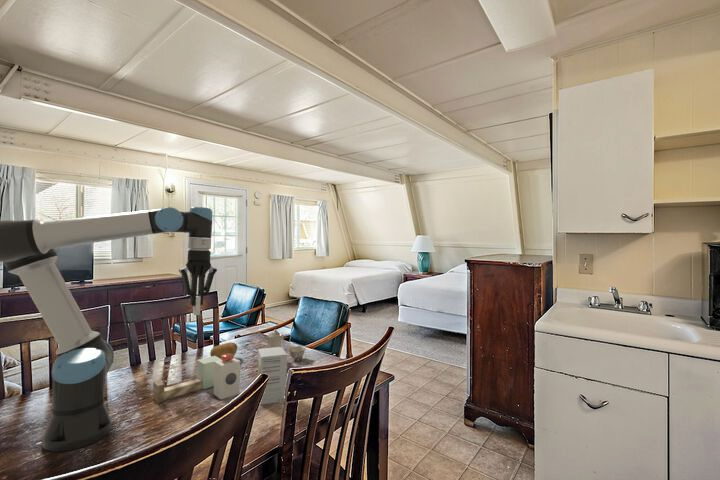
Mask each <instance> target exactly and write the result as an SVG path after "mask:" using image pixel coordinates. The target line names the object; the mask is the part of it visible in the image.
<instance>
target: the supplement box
mask: <svg viewBox="0 0 720 480" xmlns="http://www.w3.org/2000/svg"><path fill="white" fill-rule="evenodd" d="M287 367H288V354H287V352H286V350H285V349H284V347H283V346H282V347H274V348H267V347H265V348H259V349H258V350H257V376H259V375H260V374H262V373H266V374H268V375H269V380H268V383H267V386H266V390H265V393H264V395H263V398H262V401H261V404H260V403H259V405H260V406H263V405H269V404H275V403H276V404H277V403H280V402H285V401H284V391H285V385H286V386H287V371H288V370H287V369H288V368H287Z"/></svg>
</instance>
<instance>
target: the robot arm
mask: <svg viewBox="0 0 720 480" xmlns="http://www.w3.org/2000/svg"><path fill="white" fill-rule="evenodd" d="M212 230H213V210H212V209H211V208H209V207H204V206H202V207H201V206H191V207H190V209H189V211H180V210H179V209H177V208H176V207H171V206H168V207H162V208H157V209H151V210H150V209H149V210H139V211H138V210H137V211H132V212H131V211H130V212H129V211H127V212H121V213H113V214H111V213H110V214H103V215H95V216H93V215H92V216H86V217H77V218H68V219H67V218H66V219H61V220H60V219H58V220H51V221H42V220H40V219H38V218H37V219H36V218H35V219H25V220H10V219H9V220H8V219H6V220H5V219H4V220H0V263H1V262H2V264H3V265H4V267H5V269H6V270H7V272H8V273H10V274H12V275H16V276H18V277H19V279H20V281H21V282H22V284H23V286H24V287H25V289H26V291H27V293H28V295H29V296H30V298H31V299H32V301H33V303H34V305H35V306H36V309H37V310H38V312H39V313H40V314H39V315H41V317H42V319H43V321H44V322H45V324H46V326H47V327H48V329H49V331H50V333H51V334H52V336H53V337H54V340H55V341H56V344H57V345H58V347H57V348H56V351H55V354H56V356H57V357H56V359H55V360H54V362H53V365H52V369H51V416H50V418H49V421H48V423H47V426H46V428H45V431H44V433H43V436H42V448H43V450H45V451H48V452H53V453H57V452H67V451H73V450H76V449H77V450H78V449H80V448H83V447H85V446H88V445H91V444H94V443H95V442H97V441H99V440H101V439H103V438H104V437H105V436H107V435H108V434H109V433H110V431H111V429H112V418H111V416H110V414H109V411H108V408H107V406H106V403H105V389H106V388H105V384H106V377H107V376H108V375H107V374H108V373H109V371H110V369H111V368H112V365H113V363H114V361H115V359H114V358H115V357H114V356H115V352H114V349H113V347H112V346H111V344H110V343H109V342H106V340H104V339H103V337H102V334H101V333H100V332H99V331H96V330H95V331H94V330H93V329H91V326H90V325H89V323H88V322H87V320H86V318H85V316H84V315H83V313H82V311H81V308H80V306H79V305H78V303H77V301H76V300H75V298H74V297H73V293H72V292H71V290H70V288H69V287H68V286H67V283H66V281H65V279H64V277H63V276H62V274H61V272H60V271H59V269H58V267H57V265H56V262H57V259H58V257H59V255H58V254H57V252H56V250H55V249H59V248H66V247H73V246H80V245H88V244H95V243H100V242H102V243H103V242H107V241H109V242H110V241H113V240H114V241H115V240H121V239H128V238H135V237H141V236H148V235H149V236H150V235H155V234H163V233H184V234H185V233H188V244H187V248H188V251H187V262H186V264H185V266H184V267H183V268H179V269H178V272H179V273H180V275H181V279H182V283H183V289H184V293H185V295H186V296H189V297H190V306H192V314H193V316H200V315H201V306H203V304H204V297H205V295H209V294H210V290H211V287H212V284H213V280H214V276H215V274H216V273H217V271H218V269H217V268H214V267H213V266H212V264H211V254H212V253H211V249H212V232H213V231H212ZM188 272H189V273H190V278H191V281H189V280H190V279H189V275H188ZM207 272H208V274H207ZM206 274H207V277H206ZM205 278H206V279H205Z"/></svg>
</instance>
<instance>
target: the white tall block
mask: <svg viewBox="0 0 720 480" xmlns="http://www.w3.org/2000/svg"><path fill="white" fill-rule="evenodd" d="M240 378H241V360H239V359H238V358H235V357H234V358H233V359H232V360H231V362H229V363H224V361H223V360H218V361H214V386H213V395H214V396H215V397H216V398H218V399H219V400H223V399H227V398H230V397H233V396H236V395H238V394H240V390H241V389H240V386H241V384H240V383H241V379H240Z"/></svg>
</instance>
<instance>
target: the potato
mask: <svg viewBox="0 0 720 480" xmlns="http://www.w3.org/2000/svg"><path fill="white" fill-rule="evenodd" d="M237 351H238V345H237V343H236V342H232V341H230V342H229V341H228V342H225V343H222V344H219V345H217V346H214V347H212V348H211V349H210V353H209V354H210V357H212V356H216V357H218V358H220V359H221V355H223V354H227V353H231V354H234V356H235V355H236V354H237Z"/></svg>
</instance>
